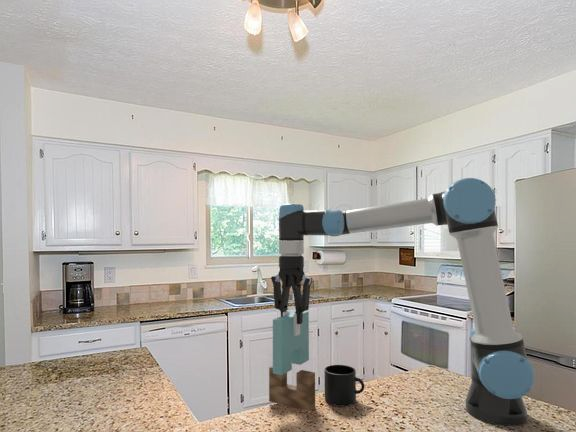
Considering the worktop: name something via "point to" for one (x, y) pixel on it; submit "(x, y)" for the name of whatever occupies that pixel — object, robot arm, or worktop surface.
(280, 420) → the worktop surface
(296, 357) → the teal flat block
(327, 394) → the mug
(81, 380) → the worktop surface
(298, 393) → the walnut u-shaped block
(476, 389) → the robot arm
